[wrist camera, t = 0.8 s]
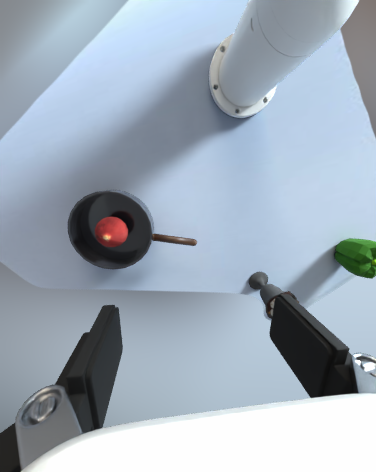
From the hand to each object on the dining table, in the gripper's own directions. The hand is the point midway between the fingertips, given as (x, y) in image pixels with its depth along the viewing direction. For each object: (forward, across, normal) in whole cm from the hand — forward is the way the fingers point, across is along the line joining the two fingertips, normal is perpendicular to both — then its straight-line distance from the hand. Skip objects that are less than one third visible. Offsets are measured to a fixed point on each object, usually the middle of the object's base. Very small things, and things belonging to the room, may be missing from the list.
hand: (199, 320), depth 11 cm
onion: (+31, +12, +1) cm, 33 cm away
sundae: (+31, -21, +16) cm, 40 cm away
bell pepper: (+31, -42, +8) cm, 53 cm away
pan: (+31, +12, +1) cm, 33 cm away
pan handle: (+28, 0, +3) cm, 28 cm away
